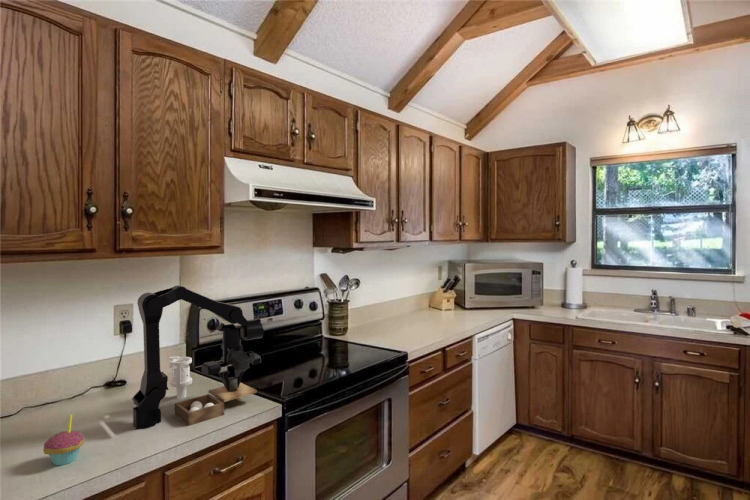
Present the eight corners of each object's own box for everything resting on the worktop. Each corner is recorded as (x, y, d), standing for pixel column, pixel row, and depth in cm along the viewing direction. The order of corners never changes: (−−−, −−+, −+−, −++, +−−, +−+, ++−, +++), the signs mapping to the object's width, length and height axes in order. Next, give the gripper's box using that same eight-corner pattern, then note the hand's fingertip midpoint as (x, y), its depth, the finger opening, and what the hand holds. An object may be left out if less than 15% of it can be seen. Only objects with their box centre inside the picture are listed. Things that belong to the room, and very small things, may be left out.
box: (188, 428, 128) (188, 413, 128) (174, 417, 136) (174, 403, 136) (224, 417, 136) (224, 403, 136) (208, 407, 144) (208, 393, 143)
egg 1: (193, 416, 135) (192, 404, 135) (188, 412, 137) (188, 401, 137) (204, 412, 137) (204, 401, 137) (199, 409, 140) (199, 398, 140)
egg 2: (191, 422, 130) (191, 410, 130) (186, 418, 133) (186, 407, 133) (203, 418, 133) (202, 407, 133) (198, 415, 135) (197, 404, 135)
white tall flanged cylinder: (173, 396, 154) (172, 354, 153) (194, 394, 155) (193, 353, 155) (167, 403, 147) (166, 359, 146) (189, 402, 148) (189, 358, 148)
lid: (224, 401, 138) (224, 386, 137) (208, 392, 146) (208, 378, 145) (256, 392, 146) (256, 378, 145) (239, 384, 154) (239, 370, 153)
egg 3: (206, 417, 133) (206, 406, 133) (201, 414, 136) (201, 403, 136) (217, 414, 136) (217, 403, 136) (212, 411, 139) (212, 400, 138)
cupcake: (68, 450, 115) (67, 405, 115) (93, 455, 113) (92, 409, 112) (35, 467, 107) (33, 419, 107) (61, 472, 105) (59, 423, 104)
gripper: (215, 352, 133) (216, 402, 133) (269, 341, 146) (269, 387, 147) (200, 345, 141) (201, 393, 141) (252, 336, 154) (252, 379, 154)
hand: (232, 388), depth 146 cm, fingers closed on lid, 3 cm apart
